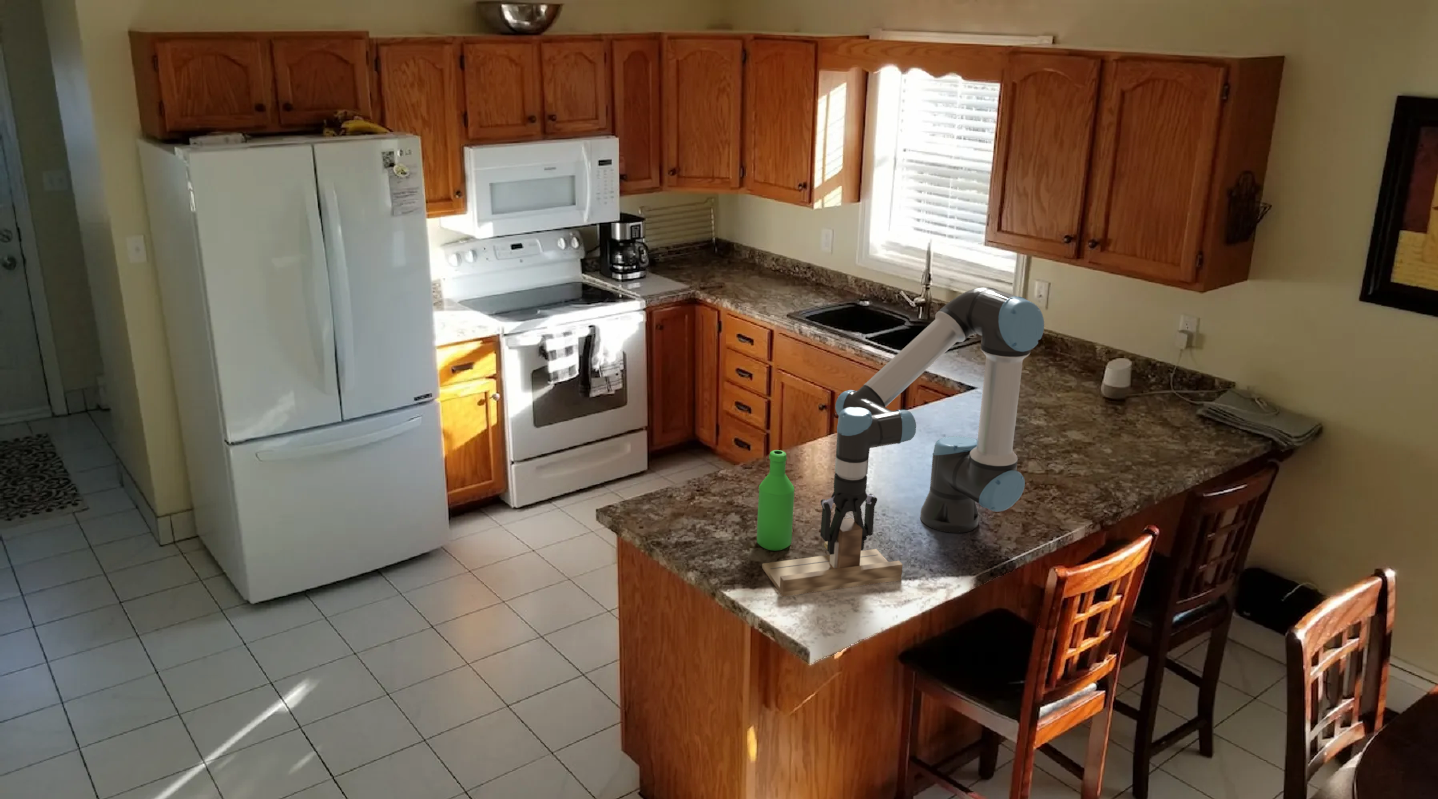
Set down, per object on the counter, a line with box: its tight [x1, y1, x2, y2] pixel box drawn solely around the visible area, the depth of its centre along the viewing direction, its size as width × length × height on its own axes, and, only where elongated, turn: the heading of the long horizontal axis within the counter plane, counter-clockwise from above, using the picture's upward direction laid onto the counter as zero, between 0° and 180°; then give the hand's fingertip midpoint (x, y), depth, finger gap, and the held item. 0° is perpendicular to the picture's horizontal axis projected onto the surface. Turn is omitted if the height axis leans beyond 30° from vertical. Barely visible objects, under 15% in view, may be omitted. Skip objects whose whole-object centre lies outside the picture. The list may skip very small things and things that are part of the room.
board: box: [761, 548, 903, 597], centre depth 256 cm, size 30×14×4 cm, turn 107°
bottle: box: [756, 449, 795, 552], centre depth 267 cm, size 9×9×25 cm
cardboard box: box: [823, 517, 862, 569], centre depth 258 cm, size 5×14×12 cm, turn 17°
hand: (844, 563), depth 255 cm, fingers closed on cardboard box, 5 cm apart
